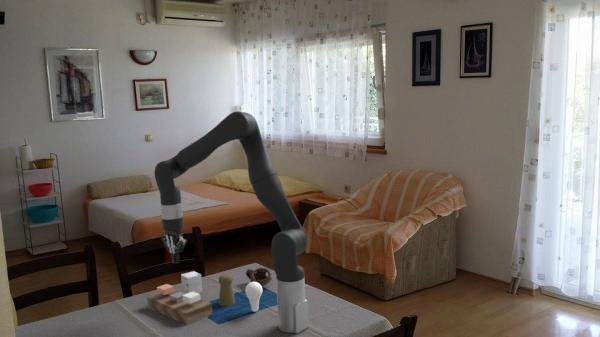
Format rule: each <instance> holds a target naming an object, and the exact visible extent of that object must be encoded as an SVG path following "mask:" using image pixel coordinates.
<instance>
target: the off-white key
mask: <svg viewBox="0 0 600 337" xmlns="http://www.w3.org/2000/svg"><path fill="white" fill-rule="evenodd" d="M201 296H202V295H201V293H196V292H190V293H187V294H185V295H183V301H185V302H188V303H190V304H191V303H194V302H196V301H199V300H201V299H202V297H201Z"/></svg>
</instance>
